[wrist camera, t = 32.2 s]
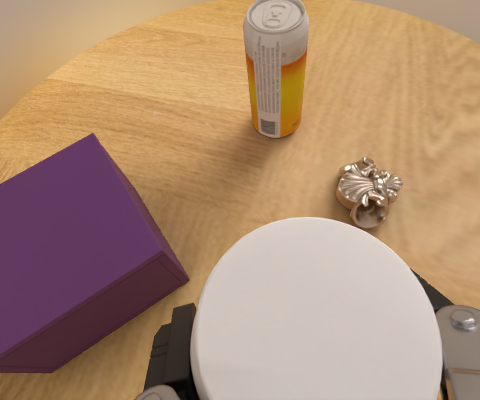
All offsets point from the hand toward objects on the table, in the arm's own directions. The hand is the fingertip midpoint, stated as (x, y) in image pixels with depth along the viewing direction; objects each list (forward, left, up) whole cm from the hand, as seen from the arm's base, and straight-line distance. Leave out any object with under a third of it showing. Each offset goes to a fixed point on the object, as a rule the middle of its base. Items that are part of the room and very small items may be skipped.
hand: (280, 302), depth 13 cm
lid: (-14, +15, -13) cm, 25 cm away
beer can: (+12, +24, -22) cm, 34 cm away
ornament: (+16, +10, -22) cm, 29 cm away
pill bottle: (0, -2, -5) cm, 5 cm away
